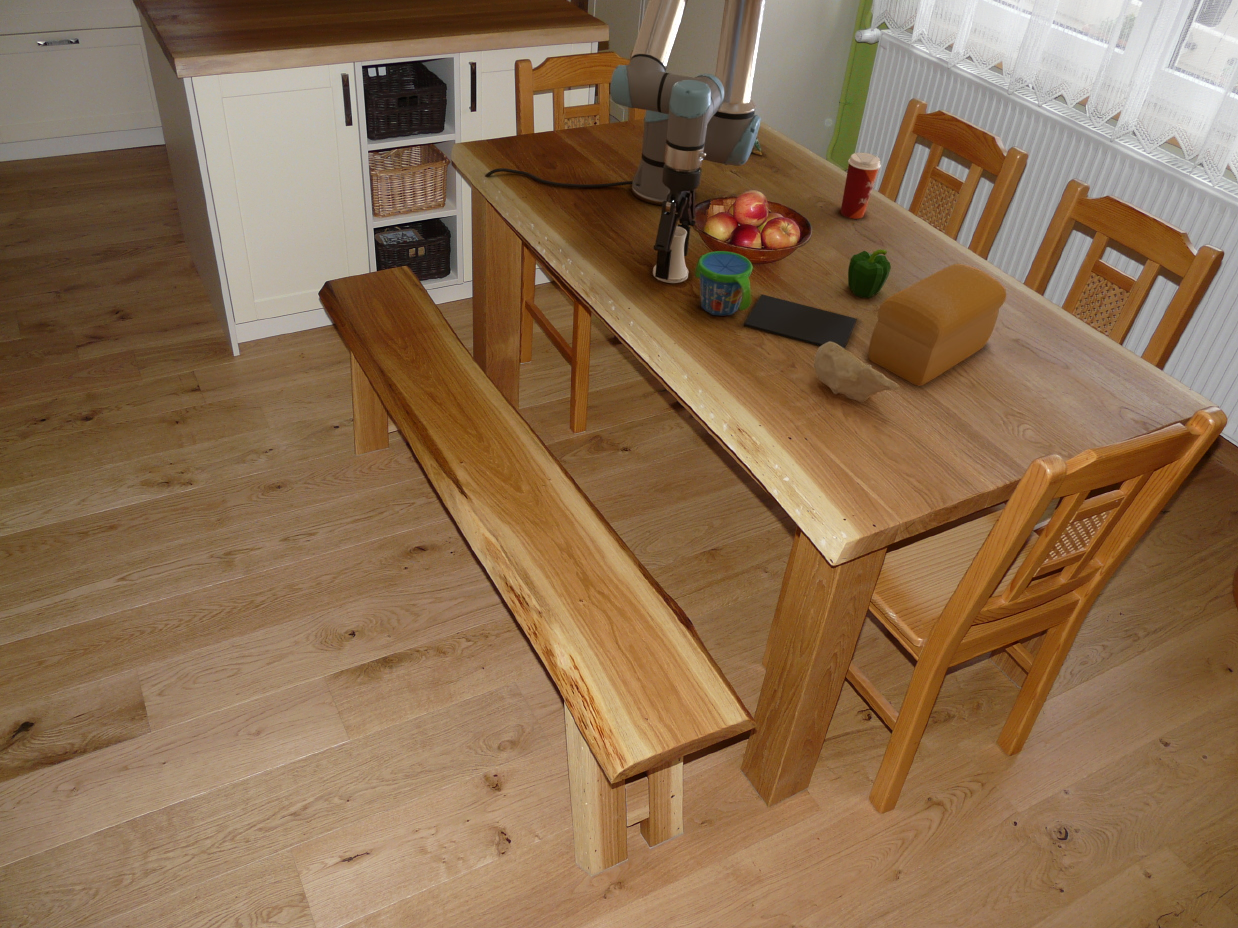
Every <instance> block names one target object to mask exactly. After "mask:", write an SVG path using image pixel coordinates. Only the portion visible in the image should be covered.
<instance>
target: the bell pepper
mask: <svg viewBox="0 0 1238 928" xmlns="http://www.w3.org/2000/svg"><path fill="white" fill-rule="evenodd" d="M887 253H888V251H887V250H886V249H877V250H875V251H873V252H872V253H870V252H868V251H867V250H862V251H861V252H858V253H856V254H853V255H852V256H851V258H850V260H849V265H848V272H847V282H848V283H847V284H848V288H849V290H850V291H852V293H853V295H854V296H857V297H858V298H865V299H868V298H869V299H870V298H872V297H873V296H876V295H877V294H878V293H879V292H880V291H881V290H882V288H883V287H884V285H885V283H886V281H888V278H889V275H890V272H891V269H892V267H891V262H890V261H889V260H888V258H887V256H886V255H887Z"/></svg>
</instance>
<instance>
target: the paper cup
mask: <svg viewBox="0 0 1238 928" xmlns="http://www.w3.org/2000/svg"><path fill="white" fill-rule="evenodd" d="M847 162H848V167H847V172H846V178H845V184H844V189H843V195H842V200H841V201H842V202H841V206H840V207H841V208H840V214H841V216H844V217H845V218H848V219H855V220H857V219H862V218H863V217H864V215H865V213H866V210H867V207H868V203H869V200H870V197H871V194H872V190H873V189H874V188H873V187H874V185H875V181H876V178H877V176H878V175H877V174H878V172H879V169H880V168H881V166H882V165H881V159H880V157H878V156H877V155H875V154H872V153H868V152H854V153H852V154H850V157H849V159H848V160H847Z"/></svg>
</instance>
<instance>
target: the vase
mask: <svg viewBox="0 0 1238 928" xmlns="http://www.w3.org/2000/svg"><path fill="white" fill-rule="evenodd" d="M686 234H687V231H686V230H685V229H684V228H682V227H678V225H677V226H676V230H675V233H674V237H673V240H672V244H671V248H670V250H672V252H671V261H670V270H669V279H668V280H665V279H661V278H657V277H655V273H656V264H655V265H654V266H653V269H652V275H653V277H654V278H655V279H657V281H660V282H663V283H669V284H679V283H682V282H685V281H687V279H688V278H689V271H690V270H689V268H688V267H687V265H686V260H685V256H684V244H685V238H686Z"/></svg>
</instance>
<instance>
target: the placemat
mask: <svg viewBox="0 0 1238 928" xmlns="http://www.w3.org/2000/svg"><path fill="white" fill-rule="evenodd" d="M856 322H857V318H855V317H851V316H848V315H844V314H841V313H837V312H833V311H829V310H825V309H821V308H817V307H813V306H808V305H806V304H801V303H798V302H794V301H789V300H785V299H782V298H778V297H774V296H770V295H766V294H761V295H760V296H759V298H758V300H757V301H756V303H755V305H754V306H753V308H752V309H751V311H750V313H749V314H748V316H747V318H746V320H745V321H744V323H743V327H746V328H749V329H754V330H757V331H761V332H766V333H769V334H772V335H776V336H780V337H783V338H788V339H791V340H795V341H798V342H802V343H806V344H809V345H813V346H817V347H820V346H822V345H823V344H825V343H827V342H829V341H830V342H834V343H836V344H838V345H839V346H841V347H842V348H844V349H846V346H847V343H848V341H849V338H850V337H851V334H852V332H853V329H854V327H855V324H856Z"/></svg>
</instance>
